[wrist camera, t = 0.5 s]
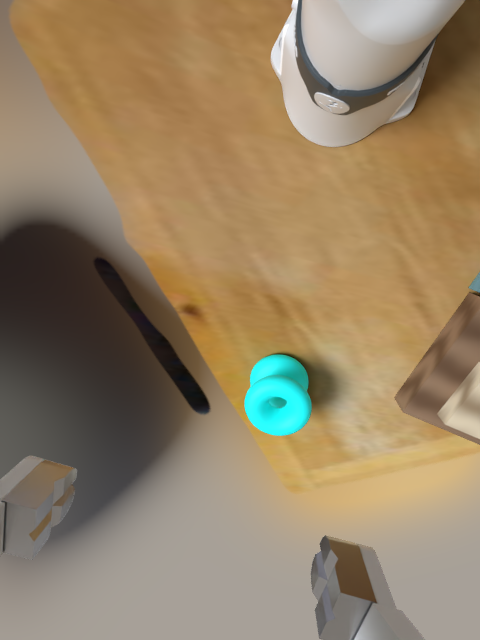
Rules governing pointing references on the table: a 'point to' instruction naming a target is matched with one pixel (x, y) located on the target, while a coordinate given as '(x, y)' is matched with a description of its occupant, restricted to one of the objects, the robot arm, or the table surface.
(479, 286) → the teal mat
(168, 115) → the table surface
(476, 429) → the cream block
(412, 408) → the walnut board
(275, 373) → the donuts
